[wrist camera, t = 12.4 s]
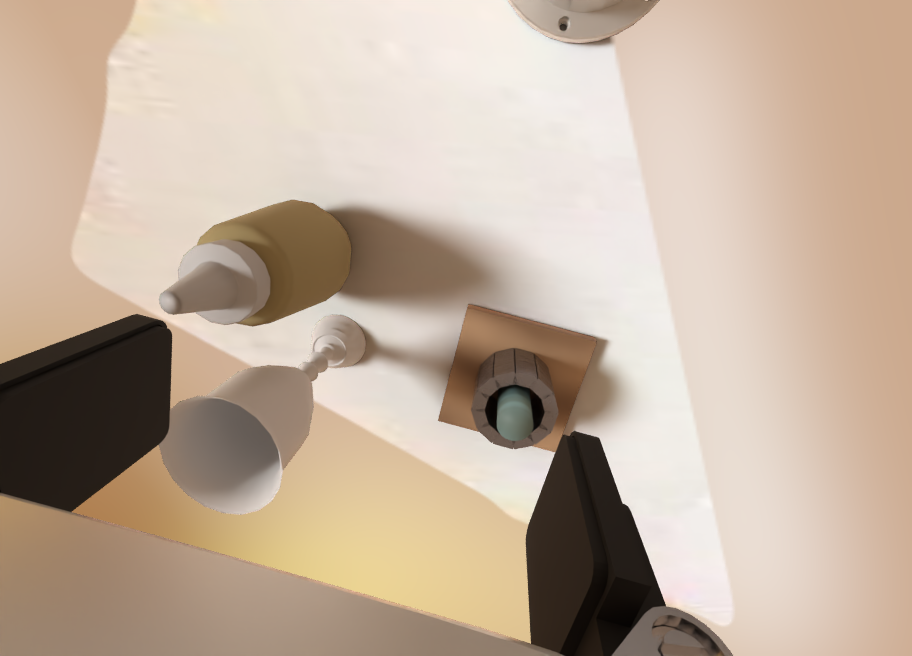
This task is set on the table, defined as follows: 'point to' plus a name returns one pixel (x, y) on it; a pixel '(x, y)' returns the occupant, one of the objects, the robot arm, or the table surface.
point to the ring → (510, 371)
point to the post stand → (514, 412)
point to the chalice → (253, 424)
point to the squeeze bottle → (262, 266)
